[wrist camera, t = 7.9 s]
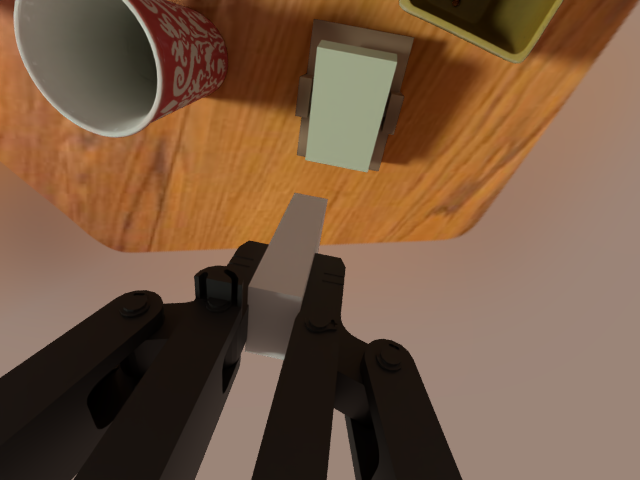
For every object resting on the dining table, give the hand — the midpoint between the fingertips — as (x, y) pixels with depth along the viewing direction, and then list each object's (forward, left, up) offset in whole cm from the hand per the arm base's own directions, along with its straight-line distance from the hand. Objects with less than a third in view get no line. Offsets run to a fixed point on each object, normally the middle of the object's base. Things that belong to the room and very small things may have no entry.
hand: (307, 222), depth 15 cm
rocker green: (-3, +1, -16) cm, 16 cm away
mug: (-5, -16, -21) cm, 27 cm away
